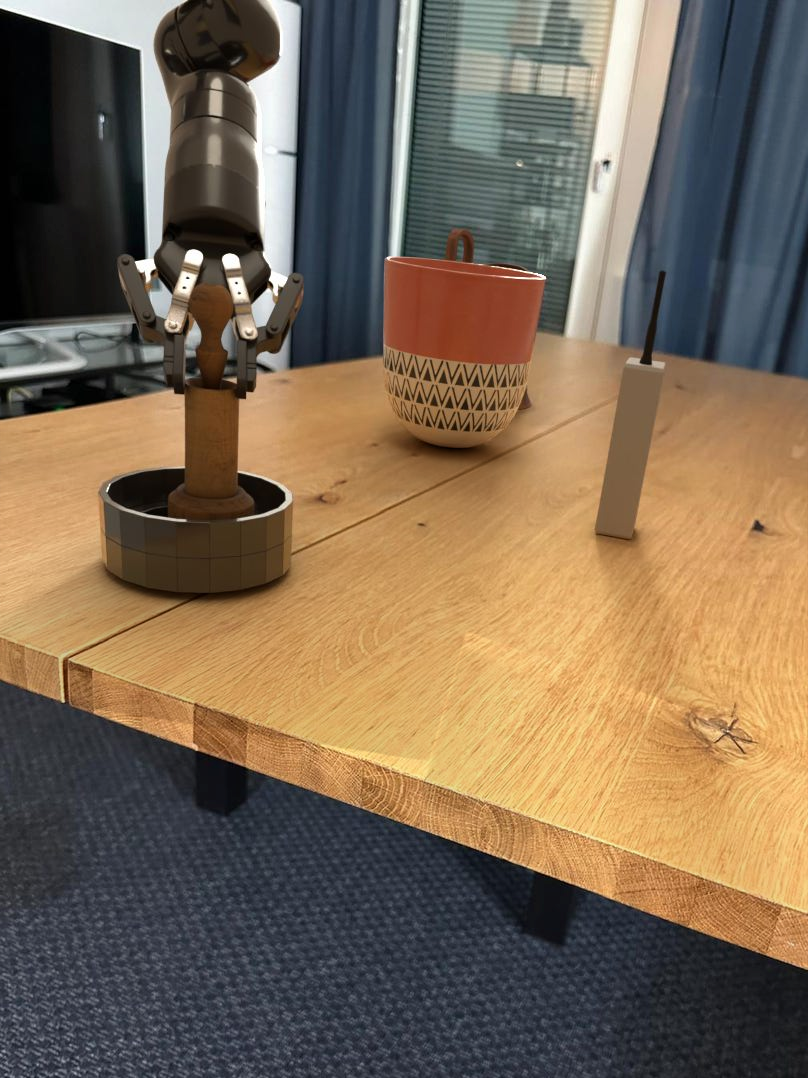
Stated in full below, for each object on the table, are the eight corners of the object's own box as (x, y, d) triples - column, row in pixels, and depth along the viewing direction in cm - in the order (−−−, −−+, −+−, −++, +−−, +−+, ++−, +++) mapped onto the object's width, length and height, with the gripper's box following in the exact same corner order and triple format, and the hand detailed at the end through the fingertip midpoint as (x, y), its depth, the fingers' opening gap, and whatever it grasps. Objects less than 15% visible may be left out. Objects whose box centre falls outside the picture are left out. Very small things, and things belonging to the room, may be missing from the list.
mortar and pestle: (246, 544, 70) (250, 294, 62) (158, 536, 69) (151, 282, 62) (259, 516, 76) (264, 285, 68) (178, 509, 75) (174, 274, 68)
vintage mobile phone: (634, 526, 97) (684, 271, 86) (630, 540, 92) (683, 273, 82) (599, 520, 97) (644, 266, 87) (593, 533, 93) (641, 267, 82)
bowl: (68, 583, 68) (62, 504, 65) (151, 525, 80) (148, 457, 78) (258, 612, 67) (259, 533, 64) (310, 548, 80) (313, 481, 77)
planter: (475, 473, 108) (497, 278, 99) (342, 438, 116) (351, 255, 107) (547, 448, 124) (572, 278, 115) (426, 419, 132) (440, 258, 123)
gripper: (111, 147, 66) (97, 350, 61) (311, 174, 70) (314, 368, 65) (123, 223, 73) (111, 412, 68) (304, 244, 77) (307, 425, 72)
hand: (210, 389), depth 66 cm, fingers closed on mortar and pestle, 3 cm apart
